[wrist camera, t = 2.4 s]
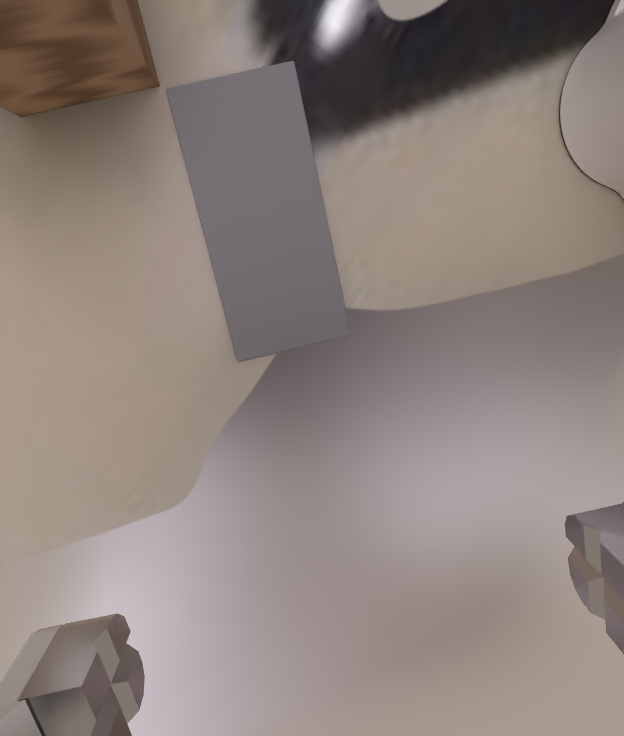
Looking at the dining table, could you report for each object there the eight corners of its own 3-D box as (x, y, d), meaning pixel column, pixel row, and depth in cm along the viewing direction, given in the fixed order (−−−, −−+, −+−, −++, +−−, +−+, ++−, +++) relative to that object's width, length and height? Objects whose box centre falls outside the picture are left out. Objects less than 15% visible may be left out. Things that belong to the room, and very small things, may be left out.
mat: (293, 62, 44) (293, 60, 44) (350, 334, 50) (350, 335, 49) (167, 90, 44) (165, 88, 43) (237, 360, 49) (237, 361, 49)
